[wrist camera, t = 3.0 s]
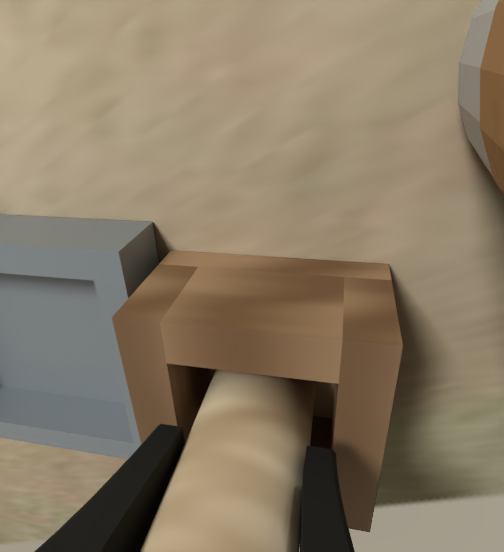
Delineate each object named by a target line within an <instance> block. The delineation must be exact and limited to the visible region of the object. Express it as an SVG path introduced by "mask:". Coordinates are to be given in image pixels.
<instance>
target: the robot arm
mask: <svg viewBox="0 0 504 552" xmlns="http://www.w3.org/2000/svg"><path fill="white" fill-rule="evenodd" d="M184 445H185V439H184V433H183V427H179V426H173V425H166V424H160V425H158V426H157V427H156V428H155V429H154V431H153V432H152V433H151V434H150V435H149V436H148V437H147V439H146V440H145V441H144V442H143V443H142V444H141V445H140V446H139V448H138V449H137V450H136V451H135V452H134V453H133V454H132V455H131V457H130V458H129V459H128V460H127V461H126V462H125V463H124V464H123V465H122V466H121V467H120V469H119V470H118V471H117V472H116V473H115V474H114V475H113V476H112V477H111V478H110V479H109V480H108V481H107V482H106V483H105V484H104V485H103V486H102V487H101V489H100V490H99V491H98V492H97V493H96V494H95V495H94V496H93V497H92V498H91V499H90V500H89V501H88V502H87V503H86V504H85V505H84V506H83V507H82V508H81V509H80V510H79V511H78V512H77V513H75V514H74V515H73V516H72V517H71V518H70V519H69V520H68V521H67V522H66V523H65V524H64V525H63V526H62V527H61V528H60V529H59V530H58V531H57V532H56V533H55V534H54V535H52V536H51V537H50V538H49V539H48V540H47V541H46V542H45V543H44V544H42V545H41V546H40V547H39V548H38V549H37V550H36V551H35V552H140V550H141V548H142V546H143V543H144V541H145V538H146V536H147V534H148V531H149V529H150V527H151V524H152V522H153V519H154V517H155V515H156V512H157V510H158V507H159V505H160V503H161V500H162V498H163V495H164V493H165V491H166V488H167V486H168V483H169V481H170V479H171V476H172V474H173V471H174V469H175V467H176V464H177V462H178V460H179V457H180V455H181V452H182V450H183V448H184ZM300 552H354V548H353V544H352V540H351V537H350V533H349V529H348V525H347V521H346V516H345V512H344V507H343V502H342V497H341V492H340V486H339V480H338V472H337V460H336V453H335V452H334V451H333V450H332V449H326V448H319V447H313V446H307V447H306V455H305V462H304V470H303V484H302V514H301V537H300Z"/></svg>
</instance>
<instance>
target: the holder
mask: <svg viewBox="0 0 504 552" xmlns="http://www.w3.org/2000/svg"><path fill="white" fill-rule="evenodd" d="M112 321H113V326H114V330H115V334H116V338H117V343H118V347H119V351H120V356H121V360H122V364H123V368H124V373H125V377H126V381H127V385H128V390H129V394H130V398H131V402H132V407H133V411H134V415H135V420H136V424H137V428H138V432H139V437H140V441H141V444H142V443H143V442H144V441H145V440H146V439H147V437H148V436H149V435H150V434H151V433H152V432H153V431H154V429H155V428H156V427H157V426H158V425H160V424H166V425H173V426H179V427H183V433H184V439H185V443H186V440H187V438H188V436H189V433H190V431H191V428H192V426H193V424H194V421H195V419H196V416H197V414H198V412H199V409H200V407H201V404H202V402H203V400H204V397H205V395H206V393H207V390H208V388H209V385H210V383H211V381H212V378H213V376H214V373H215V371H216V369H218V370H226V371H235V372H243V373H252V374H260V375H268V376H277V377H285V378H294V379H302V380H310V381H317V382H316V392H315V401H314V411H313V421H312V430H311V440H310V446H313V447H319V448H326V449H332V450H333V451H334V452H335V453H336V460H337V472H338V480H339V486H340V492H341V497H342V502H343V507H344V512H345V516H346V521H347V525H348V528H350V529H355V530H361V531H366V532H370V528H371V523H372V517H373V512H374V506H375V500H376V495H377V489H378V484H379V478H380V472H381V467H382V461H383V456H384V450H385V444H386V439H387V433H388V428H389V422H390V417H391V411H392V405H393V400H394V394H395V389H396V383H397V377H398V372H399V366H400V361H401V355H402V350H403V343H402V337H401V332H400V326H399V320H398V314H397V309H396V303H395V297H394V291H393V285H392V280H391V274H390V268H389V264H377V263H361V262H345V261H329V260H313V259H297V258H281V257H265V256H249V255H233V254H217V253H201V252H185V251H170V252H169V253H168V254H167V255H166V257H165V258H164V259H163V260H162V261H161V262H160V263H159V265H158V266H157V267H156V268H155V269H154V270H153V271H152V272H151V274H150V275H149V276H148V277H147V278H146V279H145V280H144V281H143V283H142V284H141V285H140V286H139V287H138V288H137V289H136V291H135V292H134V293H133V294H132V295H131V296H130V297H129V298H128V300H127V301H126V302H125V303H124V304H123V305H122V306H121V308H120V309H119V310H118V311H117V312H116V313H115V314H114V315H113V317H112Z"/></svg>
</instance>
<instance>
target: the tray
mask: <svg viewBox="0 0 504 552" xmlns="http://www.w3.org/2000/svg"><path fill="white" fill-rule="evenodd" d="M158 265H159V260H158V254H157V248H156V241H155V235H154V228H153V222H145V221H124V220H104V219H83V218H62V217H42V216H21V215H0V438H6V439H12V440H18V441H24V442H30V443H35V444H41V445H47V446H53V447H59V448H65V449H71V450H76V451H82V452H88V453H94V454H100V455H106V456H112V457H117V458H123V459H129V458H130V457H131V455H132V454H133V453H134V452H135V451H136V450H137V449H138V448H139V446H140V445H141V441H140V437H139V432H138V428H137V424H136V420H135V415H134V411H133V407H132V402H131V398H130V394H129V390H128V385H127V381H126V377H125V373H124V368H123V364H122V360H121V356H120V351H119V347H118V343H117V338H116V334H115V330H114V326H113V321H112V317H113V315H114V314H115V313H116V312H117V311H118V310H119V309H120V308H121V306H122V305H123V304H124V303H125V302H126V301H127V300H128V298H129V297H130V296H131V295H132V294H133V293H134V292H135V291H136V289H137V288H138V287H139V286H140V285H141V284H142V283H143V281H144V280H145V279H146V278H147V277H148V276H149V275H150V274H151V272H152V271H153V270H154V269H155V268H156V267H157V266H158Z"/></svg>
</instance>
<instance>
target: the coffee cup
mask: <svg viewBox="0 0 504 552" xmlns="http://www.w3.org/2000/svg"><path fill="white" fill-rule="evenodd" d="M458 105H459V108H460V112H461V116H462V120H463V124H464V128H465V132H466V136H467V138H468V139H469V141H470V143H471V144H472V146H473V147H474V149H475V150H476V152H477V154H478V155H479V157H480V158H481V160H482V162H483V163H484V165H485V166H486V167H487V169H488V170H489V171H490V173H491V174H492V176H493V179H494V180H495V182H496V183H497V185H498V187H499V188H500V190H501V191H502V193H503V194H504V0H482V1H481V3H480V5H479V6H478V8H477V10H476V12H475V14H474V16H473V18H472V20H471V23H470V27H469V30H468V34H467V37H466V41H465V44H464V48H463V51H462V55H461V58H460V62H459V85H458Z"/></svg>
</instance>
